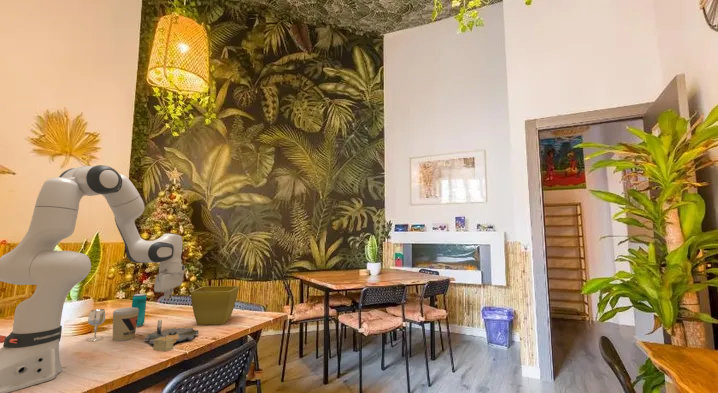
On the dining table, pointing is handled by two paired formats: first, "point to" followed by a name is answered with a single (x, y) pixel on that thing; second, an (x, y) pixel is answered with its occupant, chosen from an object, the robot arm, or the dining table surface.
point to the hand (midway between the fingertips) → (168, 298)
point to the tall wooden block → (163, 344)
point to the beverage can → (140, 307)
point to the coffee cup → (124, 323)
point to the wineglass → (96, 320)
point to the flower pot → (213, 304)
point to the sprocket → (172, 333)
